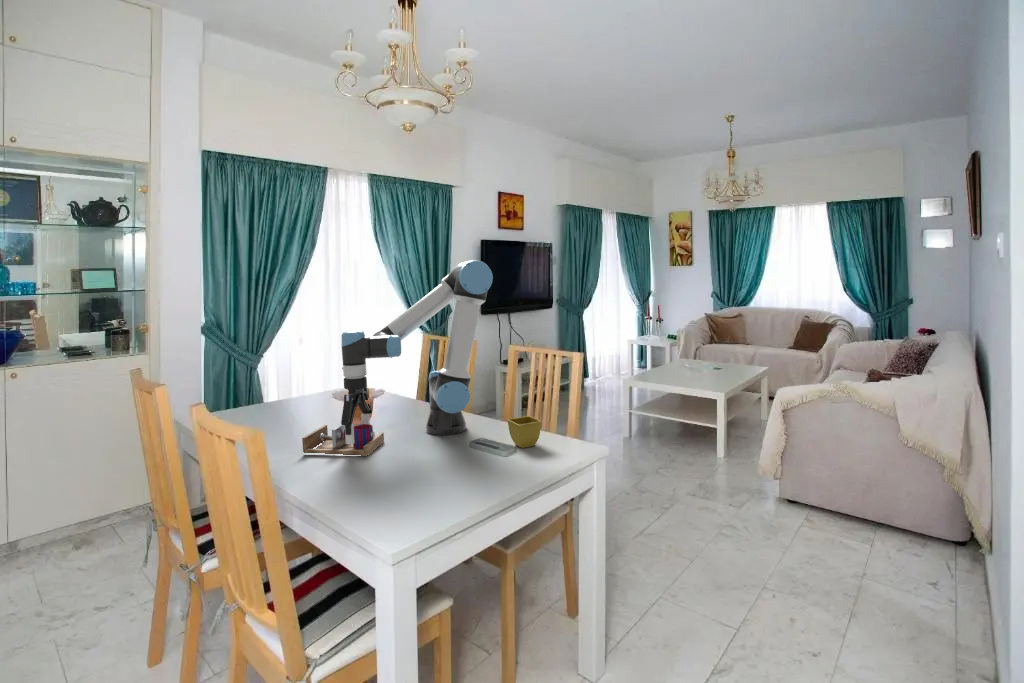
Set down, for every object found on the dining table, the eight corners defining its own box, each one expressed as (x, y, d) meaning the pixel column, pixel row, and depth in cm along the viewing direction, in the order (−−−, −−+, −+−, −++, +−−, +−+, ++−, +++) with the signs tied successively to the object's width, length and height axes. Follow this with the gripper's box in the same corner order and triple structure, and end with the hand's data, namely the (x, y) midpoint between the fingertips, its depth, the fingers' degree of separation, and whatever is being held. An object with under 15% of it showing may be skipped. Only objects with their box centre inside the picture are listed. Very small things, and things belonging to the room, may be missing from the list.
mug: (368, 449, 181) (367, 429, 181) (340, 448, 183) (339, 428, 182) (376, 443, 188) (375, 424, 187) (349, 442, 190) (348, 423, 189)
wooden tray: (384, 442, 193) (383, 425, 192) (366, 456, 177) (365, 439, 176) (325, 441, 195) (324, 425, 195) (303, 455, 180) (302, 438, 179)
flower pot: (519, 451, 180) (518, 424, 179) (507, 444, 187) (506, 419, 186) (542, 446, 184) (541, 421, 183) (529, 440, 191) (529, 415, 190)
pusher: (351, 439, 192) (350, 420, 191) (336, 450, 180) (335, 429, 179) (329, 439, 193) (328, 419, 192) (313, 450, 181) (311, 429, 180)
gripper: (359, 370, 195) (362, 427, 198) (327, 383, 171) (331, 448, 173) (379, 370, 194) (382, 427, 197) (350, 383, 170) (354, 449, 172)
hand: (358, 437), depth 185 cm, fingers open, 13 cm apart
